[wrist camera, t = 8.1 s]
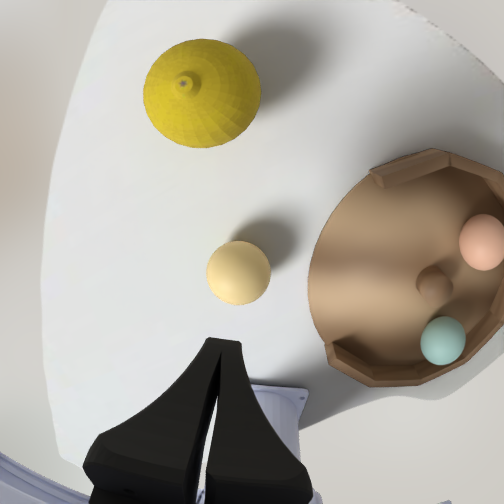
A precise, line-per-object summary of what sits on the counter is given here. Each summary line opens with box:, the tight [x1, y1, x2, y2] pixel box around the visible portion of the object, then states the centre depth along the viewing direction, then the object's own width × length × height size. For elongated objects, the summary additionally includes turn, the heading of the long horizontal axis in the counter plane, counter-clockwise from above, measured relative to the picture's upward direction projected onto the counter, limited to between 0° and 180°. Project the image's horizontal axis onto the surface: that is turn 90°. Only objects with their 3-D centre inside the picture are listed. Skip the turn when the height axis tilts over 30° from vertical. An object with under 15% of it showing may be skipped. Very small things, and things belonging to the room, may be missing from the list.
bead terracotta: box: [459, 214, 504, 271], centre depth 18 cm, size 4×4×4 cm
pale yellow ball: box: [206, 241, 271, 305], centre depth 20 cm, size 4×4×4 cm
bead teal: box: [421, 316, 466, 365], centre depth 21 cm, size 4×4×4 cm
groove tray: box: [308, 148, 504, 387], centre depth 20 cm, size 19×19×2 cm
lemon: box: [143, 39, 261, 148], centre depth 14 cm, size 6×6×8 cm
